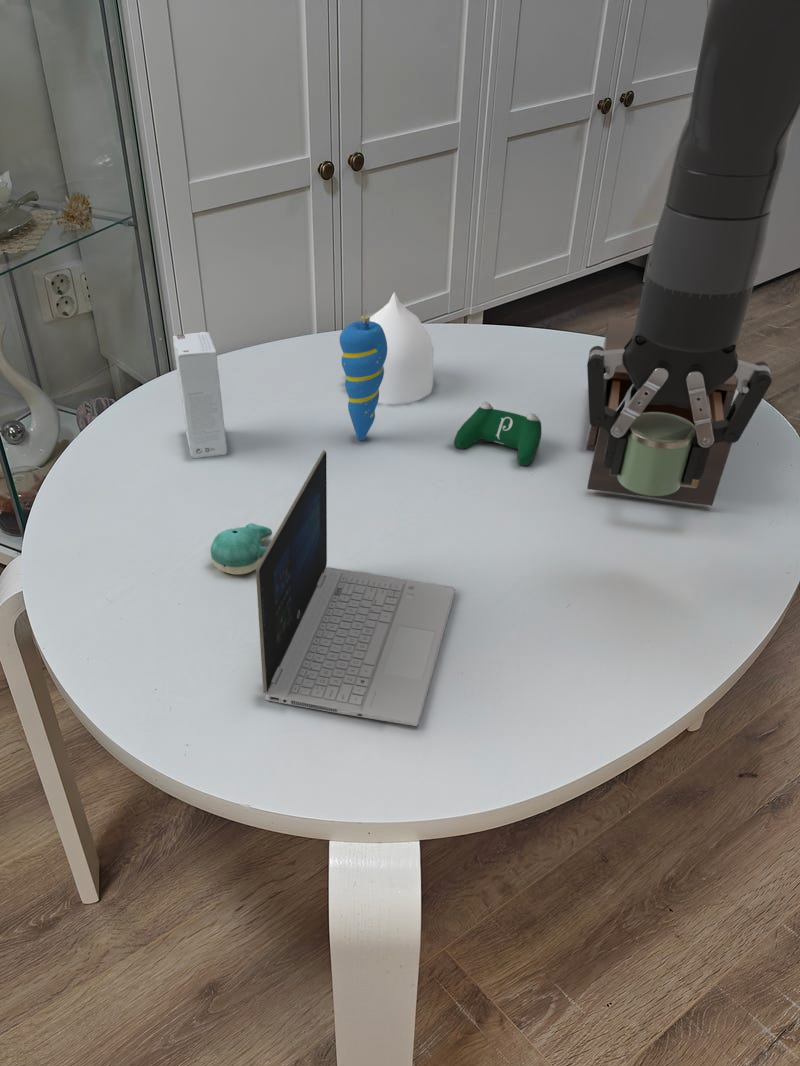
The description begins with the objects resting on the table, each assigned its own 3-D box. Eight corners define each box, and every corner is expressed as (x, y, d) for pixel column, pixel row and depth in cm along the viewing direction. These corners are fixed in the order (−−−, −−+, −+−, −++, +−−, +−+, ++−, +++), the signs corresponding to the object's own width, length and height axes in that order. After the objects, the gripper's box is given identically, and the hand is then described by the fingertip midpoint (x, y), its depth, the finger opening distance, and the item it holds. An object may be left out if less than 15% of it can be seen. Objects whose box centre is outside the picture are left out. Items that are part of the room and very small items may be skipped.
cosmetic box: (228, 455, 102) (220, 351, 95) (189, 460, 102) (177, 356, 94) (221, 430, 107) (212, 329, 99) (183, 434, 106) (171, 333, 98)
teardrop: (367, 362, 122) (370, 270, 114) (445, 376, 118) (453, 283, 110) (332, 394, 114) (332, 298, 106) (414, 411, 110) (420, 313, 103)
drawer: (713, 532, 88) (737, 460, 83) (583, 513, 91) (598, 443, 86) (707, 440, 102) (726, 374, 97) (594, 426, 105) (608, 362, 100)
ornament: (334, 447, 104) (335, 317, 94) (344, 427, 107) (345, 300, 98) (378, 452, 103) (384, 322, 93) (387, 431, 106) (393, 304, 97)
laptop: (417, 731, 69) (429, 597, 61) (262, 701, 72) (252, 568, 63) (455, 593, 82) (469, 467, 74) (322, 572, 85) (321, 447, 77)
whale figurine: (198, 569, 86) (194, 536, 83) (237, 531, 91) (234, 498, 88) (251, 586, 84) (249, 552, 81) (288, 545, 89) (287, 512, 86)
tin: (681, 468, 79) (696, 415, 75) (682, 500, 75) (697, 446, 71) (617, 461, 80) (629, 408, 77) (614, 492, 76) (626, 438, 73)
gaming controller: (533, 475, 102) (552, 425, 102) (527, 463, 99) (547, 412, 99) (458, 454, 106) (476, 407, 106) (450, 443, 102) (469, 393, 102)
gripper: (596, 281, 65) (560, 487, 76) (813, 298, 62) (742, 511, 73) (602, 248, 70) (567, 445, 81) (801, 262, 67) (737, 465, 78)
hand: (650, 475), depth 77 cm, fingers closed on tin, 5 cm apart
